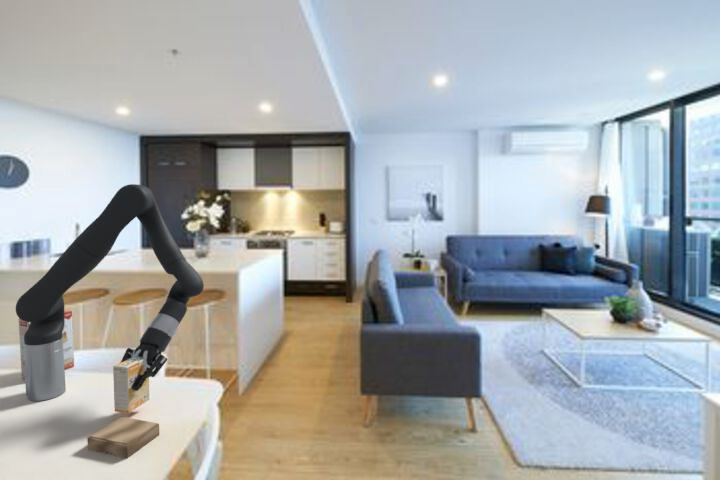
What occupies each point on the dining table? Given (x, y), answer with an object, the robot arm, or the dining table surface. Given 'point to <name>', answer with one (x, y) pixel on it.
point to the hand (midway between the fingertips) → (126, 387)
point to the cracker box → (66, 336)
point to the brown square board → (123, 436)
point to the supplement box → (129, 385)
